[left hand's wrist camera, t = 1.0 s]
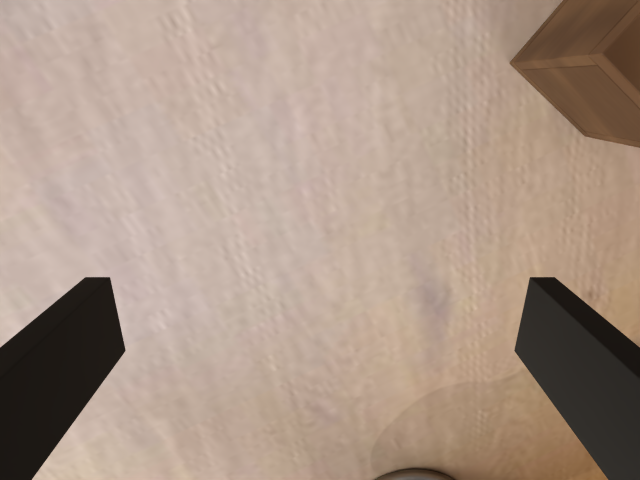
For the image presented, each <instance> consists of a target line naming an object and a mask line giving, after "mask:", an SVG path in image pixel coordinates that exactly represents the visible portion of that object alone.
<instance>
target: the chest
mask: <svg viewBox="0 0 640 480" xmlns="http://www.w3.org/2000/svg"><path fill="white" fill-rule="evenodd" d="M638 1H639V0H563V1H562V2H561V4H560V5H559V6H558V7H557V8H556V9H555V11H554V12H553V13H552V14H551V15H550V16H549V18H548V19H547V20H546V21H545V22H544V23H543V25H542V26H541V27H540V28H539V29H538V30H537V32H536V33H535V34H534V35H533V36H532V37H531V39H530V40H529V41H528V42H527V43H526V44H525V46H524V47H523V48H522V49H521V50H520V51H519V53H518V54H517V55H516V56H515V57H514V58H513V59H512V61H511V62H510V64H511V65H512V66H513V67H514V68H515V69H516V70H517V71H518V72H519V73H520V74H521V75H522V76H523V77H524V78H525V79H526V80H527V81H528V82H529V83H530V84H531V85H532V86H533V87H534V88H535V89H537V90H538V91H539V92H540V93H541V94H542V95H543V96H544V97H545V98H546V99H547V100H548V101H549V102H550V103H551V104H552V105H553V106H554V107H555V108H556V109H557V110H558V111H559V112H560V113H561V114H562V115H563V116H565V117H566V118H567V119H568V120H569V121H570V122H571V123H572V124H573V125H574V126H575V127H576V128H577V129H578V130H579V131H580V132H581V133H582V134H583V135H584V136H586V137H591V138H595V139H600V140H605V141H610V142H615V143H619V144H624V145H629V146H634V147H639V148H640V108H639V107H638V106H637V105H636V104H635V103H634V102H633V101H632V100H631V99H630V98H629V96H628V95H627V94H626V93H625V92H624V91H623V90H622V89H621V88H620V87H619V86H618V85H617V84H616V83H615V82H614V81H613V80H612V79H611V78H610V77H609V76H608V75H607V74H606V73H605V72H604V71H603V69H602V68H601V67H600V66H599V65H598V64H597V63H596V62H595V61H594V60H593V59H592V58H591V57H590V56H589V55H590V53H591V52H592V51H593V50H594V49H595V48H596V47H597V46H598V45H599V44H600V43H601V41H602V40H603V39H604V38H605V37H606V36H607V35H608V34H609V33H610V32H611V31H612V30H613V28H614V27H615V26H616V25H617V24H618V23H619V22H620V21H621V20H622V19H623V18H624V16H625V15H626V14H627V13H628V12H629V11H630V10H631V9H632V8H633V7H634V6H635V5H636V3H637V2H638Z"/></svg>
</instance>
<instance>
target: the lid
mask: <svg viewBox="0 0 640 480" xmlns="http://www.w3.org/2000/svg"><path fill="white" fill-rule="evenodd" d="M589 56H590V57H591V58H592V59H593V60H594V61H595V62H596V63H597V64H598V65H599V66H600V67H601V68H602V69H603V71H604V72H605V73H606V74H607V75H608V76H609V77H610V78H611V79H612V80H613V81H614V82H615V83H616V84H617V85H618V86H619V87H620V88H621V89H622V90H623V91H624V92H625V93H626V94H627V95H628V96H629V98H630V99H631V100H632V101H633V102H634V103H635V104H636V105H637V106H638V107H639V108H640V0H639V1H638V2H637V3H636V5H635V6H634V7H633V8H632V9H631V10H630V11H629V12H628V13H627V14H626V15H625V16H624V18H623V19H622V20H621V21H620V22H619V23H618V24H617V25H616V26H615V27H614V28H613V30H612V31H611V32H610V33H609V34H608V35H607V36H606V37H605V38H604V39H603V40H602V41H601V43H600V44H599V45H598V46H597V47H596V48H595V49H594V50H593V51H592V52H591V53H590V55H589Z"/></svg>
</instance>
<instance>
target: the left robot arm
mask: <svg viewBox="0 0 640 480" xmlns="http://www.w3.org/2000/svg"><path fill="white" fill-rule="evenodd" d="M124 352H125V346H124V341H123V337H122V332H121V327H120V322H119V318H118V313H117V308H116V304H115V299H114V294H113V289H112V285H111V280H110V277H85V278H84V279H83V280H82V281H80V282H79V283H78V284H77V285H76V286H74V287H73V288H72V289H71V290H70V291H68V292H67V293H66V294H65V295H63V296H62V297H61V298H60V299H59V300H57V301H56V302H55V303H54V304H53V305H51V306H50V307H49V308H48V309H47V310H45V311H44V312H43V313H42V314H40V315H39V316H38V317H37V318H36V319H34V320H33V321H32V322H31V323H30V324H28V325H27V326H26V327H25V328H23V329H22V330H21V331H20V332H19V333H17V334H16V335H15V336H14V337H13V338H11V339H10V340H9V341H8V342H7V343H5V344H4V345H3V346H2V347H0V480H32V478H33V477H34V476H35V474H36V473H37V472H38V470H39V469H40V467H41V466H42V465H43V463H44V462H45V461H46V459H47V458H48V456H49V455H50V454H51V452H52V451H53V450H54V448H55V447H56V445H57V444H58V443H59V441H60V440H61V439H62V437H63V436H64V434H65V433H66V432H67V430H68V429H69V428H70V426H71V425H72V423H73V422H74V421H75V419H76V418H77V417H78V415H79V414H80V413H81V411H82V410H83V408H84V407H85V406H86V404H87V403H88V402H89V400H90V399H91V397H92V396H93V395H94V393H95V392H96V391H97V389H98V388H99V386H100V385H101V384H102V382H103V381H104V380H105V378H106V377H107V375H108V374H109V373H110V371H111V370H112V369H113V367H114V366H115V364H116V363H117V362H118V360H119V359H120V358H121V356H122V355H123V353H124ZM515 352H516V353H517V355H518V356H519V358H520V359H521V360H522V362H523V363H524V364H525V366H526V367H527V369H528V370H529V371H530V373H531V374H532V375H533V377H534V378H535V380H536V381H537V382H538V384H539V385H540V386H541V388H542V389H543V391H544V392H545V393H546V395H547V396H548V397H549V399H550V400H551V402H552V403H553V404H554V406H555V407H556V408H557V410H558V411H559V413H560V414H561V415H562V417H563V418H564V419H565V421H566V422H567V423H568V425H569V426H570V428H571V429H572V430H573V432H574V433H575V434H576V436H577V437H578V439H579V440H580V441H581V443H582V444H583V445H584V447H585V448H586V450H587V451H588V452H589V454H590V455H591V456H592V458H593V459H594V461H595V462H596V463H597V465H598V466H599V467H600V469H601V470H602V472H603V473H604V474H605V476H606V477H607V478H608V480H640V347H638V346H637V345H636V344H635V343H633V342H632V341H631V340H630V339H629V338H627V337H626V336H625V335H624V334H623V333H621V332H620V331H619V330H618V329H617V328H615V327H614V326H613V325H612V324H610V323H609V322H608V321H607V320H606V319H604V318H603V317H602V316H601V315H600V314H598V313H597V312H596V311H595V310H593V309H592V308H591V307H590V306H589V305H587V304H586V303H585V302H584V301H583V300H581V299H580V298H579V297H578V296H577V295H575V294H574V293H573V292H572V291H570V290H569V289H568V288H567V287H566V286H564V285H563V284H562V283H561V282H560V281H558V280H557V279H556V278H555V277H530V280H529V285H528V289H527V294H526V299H525V304H524V308H523V313H522V318H521V322H520V327H519V332H518V337H517V341H516V346H515ZM375 480H454V479H452V478H450V477H448V476H446V475H444V474H441V473H438V472H434V471H429V470H420V469H411V470H402V471H397V472H393V473H389V474H386V475H384V476H381V477H379V478H377V479H375Z"/></svg>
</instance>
